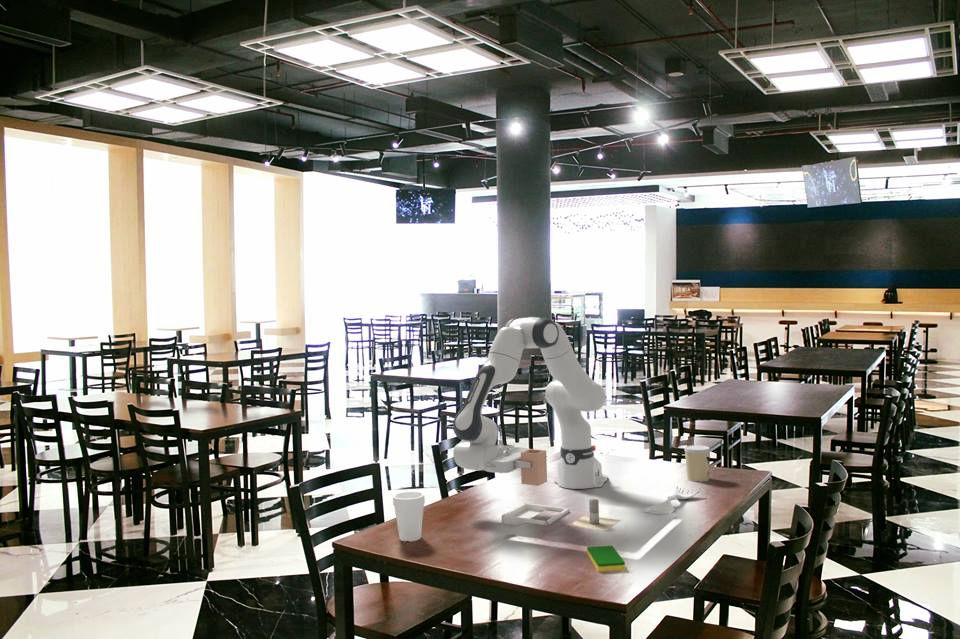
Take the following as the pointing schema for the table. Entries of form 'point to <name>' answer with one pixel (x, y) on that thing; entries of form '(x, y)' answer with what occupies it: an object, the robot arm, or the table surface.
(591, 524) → the stand
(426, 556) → the table surface
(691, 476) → the coffee cup
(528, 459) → the sleeve
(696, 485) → the table surface
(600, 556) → the dish sponge
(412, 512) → the foam cup
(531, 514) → the tray
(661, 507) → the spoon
